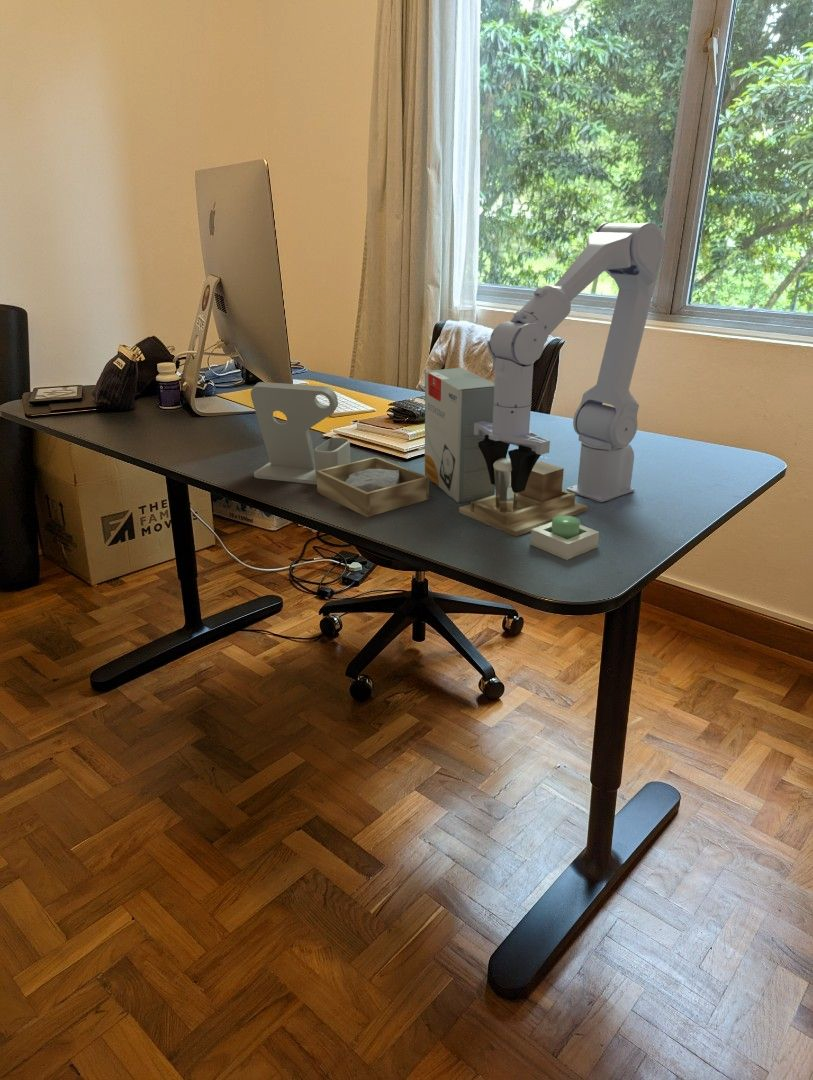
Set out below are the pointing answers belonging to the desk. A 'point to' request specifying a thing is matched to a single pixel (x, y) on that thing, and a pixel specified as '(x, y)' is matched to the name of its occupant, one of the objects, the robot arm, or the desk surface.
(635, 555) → the desk surface
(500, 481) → the milkshake
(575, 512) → the pallet
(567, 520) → the button
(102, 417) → the desk surface
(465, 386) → the hard drive box
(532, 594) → the desk surface
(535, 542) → the cream square tray
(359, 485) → the stone block
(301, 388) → the phone holder
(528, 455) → the robot arm
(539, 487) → the walnut block
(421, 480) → the wooden tray
